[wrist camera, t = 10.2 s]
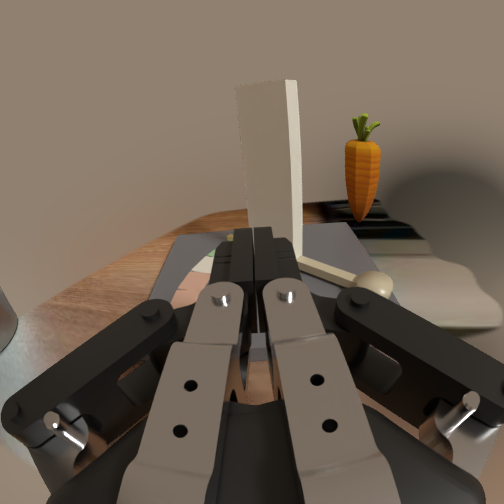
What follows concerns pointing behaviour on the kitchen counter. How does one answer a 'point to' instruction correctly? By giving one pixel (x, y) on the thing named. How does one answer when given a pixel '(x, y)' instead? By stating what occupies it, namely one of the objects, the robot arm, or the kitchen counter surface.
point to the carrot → (362, 168)
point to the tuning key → (283, 175)
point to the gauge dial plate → (204, 244)
